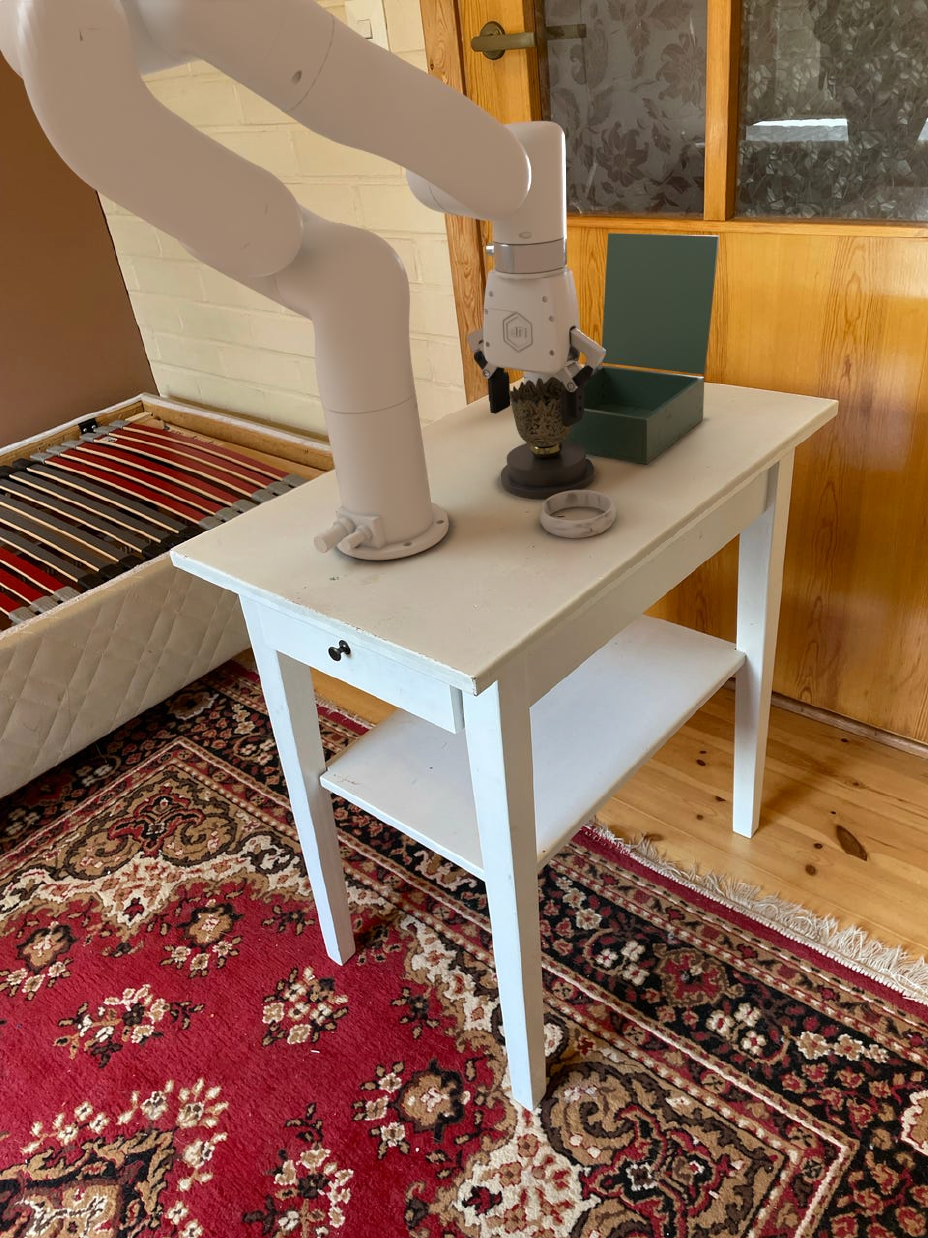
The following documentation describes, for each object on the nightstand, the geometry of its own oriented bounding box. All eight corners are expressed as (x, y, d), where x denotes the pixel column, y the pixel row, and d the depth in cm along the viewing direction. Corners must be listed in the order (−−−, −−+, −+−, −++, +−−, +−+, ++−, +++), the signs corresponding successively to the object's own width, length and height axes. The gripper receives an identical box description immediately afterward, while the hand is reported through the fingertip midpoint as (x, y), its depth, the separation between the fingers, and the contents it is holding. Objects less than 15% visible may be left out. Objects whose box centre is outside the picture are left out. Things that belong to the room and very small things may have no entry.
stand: (562, 506, 104) (560, 481, 102) (482, 488, 110) (480, 465, 108) (611, 467, 111) (611, 444, 109) (534, 453, 117) (532, 430, 115)
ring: (564, 499, 105) (563, 483, 104) (629, 512, 101) (629, 495, 100) (525, 530, 100) (524, 513, 99) (592, 545, 95) (591, 528, 94)
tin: (647, 464, 110) (646, 419, 107) (542, 446, 119) (539, 403, 116) (703, 419, 120) (704, 376, 117) (603, 405, 128) (601, 364, 125)
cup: (503, 452, 111) (497, 386, 106) (558, 436, 113) (554, 371, 108) (533, 473, 105) (528, 404, 100) (590, 456, 107) (588, 388, 103)
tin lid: (717, 235, 110) (719, 235, 110) (607, 232, 118) (610, 232, 118) (703, 374, 117) (705, 373, 117) (600, 362, 125) (602, 362, 125)
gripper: (442, 259, 99) (454, 415, 108) (583, 269, 90) (584, 439, 98) (484, 245, 104) (492, 396, 113) (622, 254, 94) (619, 417, 103)
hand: (535, 416), depth 106 cm, fingers open, 9 cm apart
